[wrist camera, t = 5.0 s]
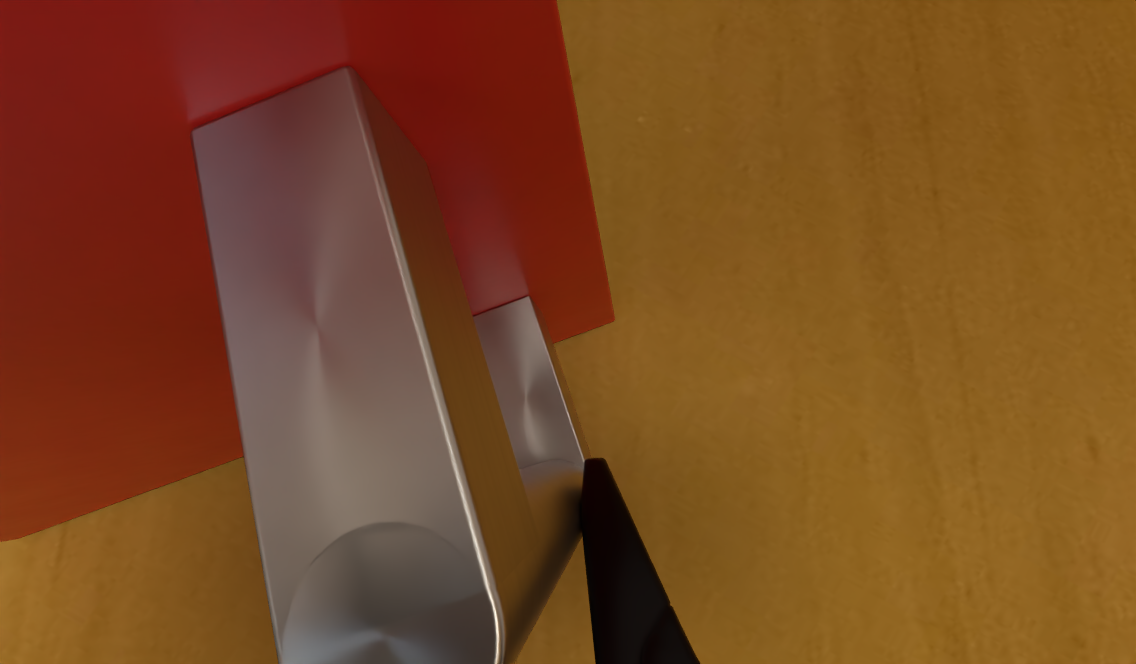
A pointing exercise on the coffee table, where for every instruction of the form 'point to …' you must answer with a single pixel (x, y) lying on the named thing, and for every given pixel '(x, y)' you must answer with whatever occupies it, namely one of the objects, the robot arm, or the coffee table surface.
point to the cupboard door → (306, 297)
